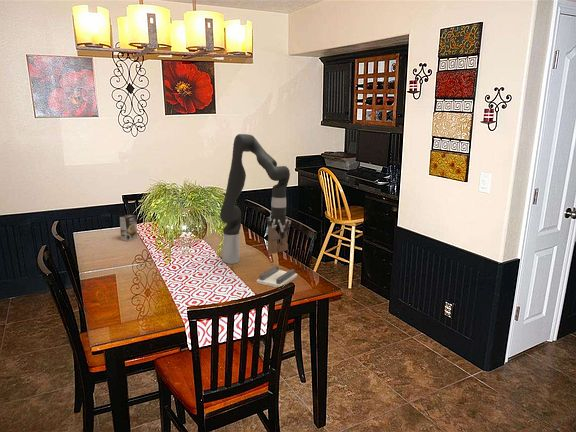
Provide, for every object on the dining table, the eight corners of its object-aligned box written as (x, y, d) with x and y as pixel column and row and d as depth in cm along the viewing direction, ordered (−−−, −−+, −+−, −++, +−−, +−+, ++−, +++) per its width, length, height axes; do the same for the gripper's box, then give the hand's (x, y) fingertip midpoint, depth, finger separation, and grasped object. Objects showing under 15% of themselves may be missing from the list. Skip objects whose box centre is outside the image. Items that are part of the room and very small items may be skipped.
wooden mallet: (267, 252, 226) (268, 218, 222) (283, 248, 233) (284, 215, 228) (271, 254, 223) (272, 220, 219) (288, 250, 230) (289, 217, 226)
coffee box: (127, 241, 291) (126, 217, 287) (120, 240, 293) (119, 216, 289) (137, 238, 299) (136, 215, 295) (130, 236, 301) (129, 214, 297)
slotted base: (256, 282, 226) (256, 275, 226) (274, 271, 243) (274, 264, 242) (280, 288, 220) (280, 280, 219) (297, 276, 237) (297, 269, 236)
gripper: (294, 206, 222) (293, 238, 226) (270, 202, 229) (269, 234, 233) (287, 208, 216) (287, 241, 220) (262, 205, 222) (262, 237, 226)
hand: (278, 237), depth 226 cm, fingers closed on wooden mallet, 4 cm apart
